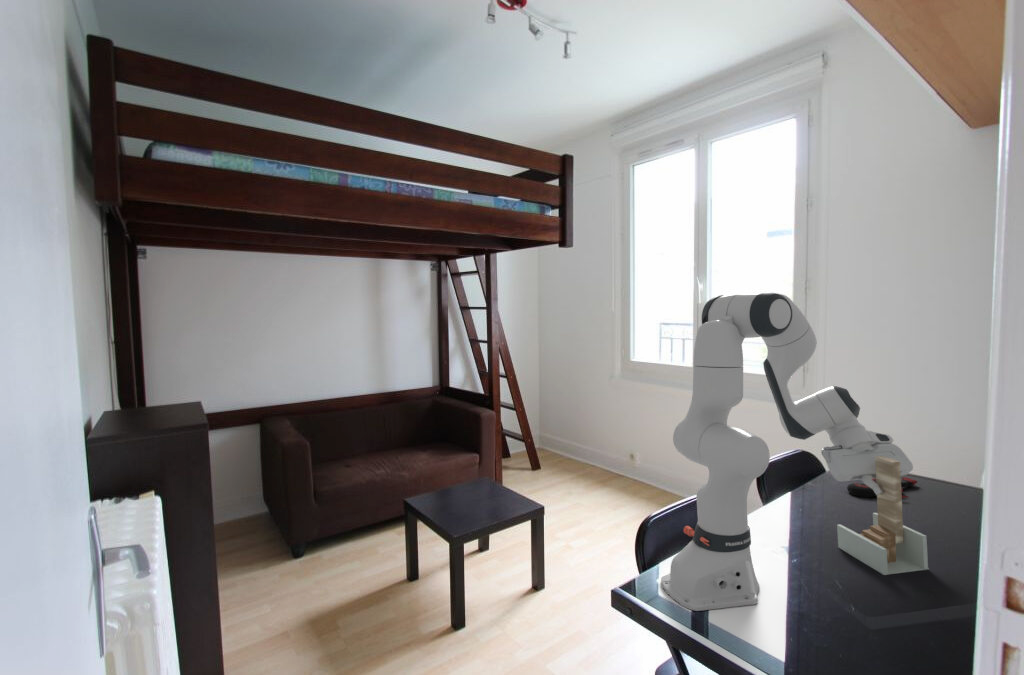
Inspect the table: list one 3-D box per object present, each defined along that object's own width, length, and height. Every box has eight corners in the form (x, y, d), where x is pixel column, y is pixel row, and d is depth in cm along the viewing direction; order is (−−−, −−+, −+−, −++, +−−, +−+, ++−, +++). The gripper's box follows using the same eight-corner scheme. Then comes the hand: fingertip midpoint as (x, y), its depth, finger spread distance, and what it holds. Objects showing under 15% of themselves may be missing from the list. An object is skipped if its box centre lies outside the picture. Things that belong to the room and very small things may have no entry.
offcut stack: (875, 565, 116) (873, 537, 116) (855, 553, 122) (853, 526, 122) (898, 562, 116) (896, 534, 116) (877, 551, 122) (875, 524, 122)
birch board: (896, 543, 117) (892, 462, 116) (878, 534, 122) (875, 456, 121) (903, 542, 117) (900, 461, 116) (885, 533, 122) (882, 456, 121)
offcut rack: (884, 581, 112) (882, 541, 112) (838, 552, 126) (836, 517, 125) (929, 575, 113) (927, 535, 113) (879, 547, 127) (877, 512, 126)
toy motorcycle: (844, 498, 163) (901, 504, 150) (841, 483, 163) (897, 487, 150) (876, 482, 176) (930, 486, 163) (873, 468, 177) (926, 471, 164)
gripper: (824, 441, 126) (855, 491, 116) (896, 434, 127) (932, 483, 118) (812, 453, 130) (842, 502, 121) (882, 447, 132) (916, 494, 122)
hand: (887, 492), depth 119 cm, fingers closed on birch board, 2 cm apart
